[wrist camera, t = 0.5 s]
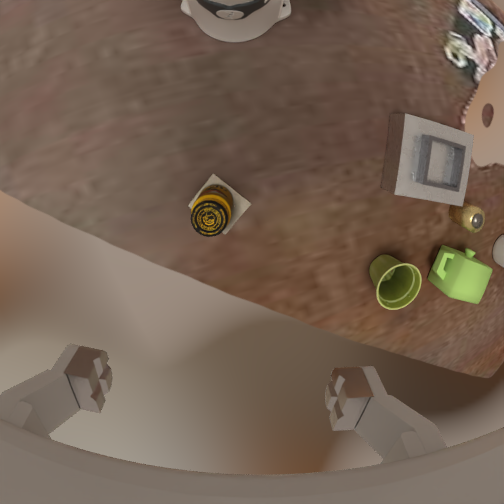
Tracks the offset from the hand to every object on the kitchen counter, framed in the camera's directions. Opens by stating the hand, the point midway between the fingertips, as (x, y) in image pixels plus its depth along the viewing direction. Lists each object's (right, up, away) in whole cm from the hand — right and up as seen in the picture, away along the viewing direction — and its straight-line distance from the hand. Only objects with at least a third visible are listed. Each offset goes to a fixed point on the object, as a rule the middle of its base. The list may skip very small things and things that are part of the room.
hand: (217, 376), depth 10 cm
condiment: (-4, +13, +45) cm, 47 cm away
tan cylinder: (+45, +13, +46) cm, 65 cm away
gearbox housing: (+33, +22, +42) cm, 58 cm away
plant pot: (+28, +1, +50) cm, 57 cm away
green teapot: (+47, +2, +50) cm, 69 cm away
